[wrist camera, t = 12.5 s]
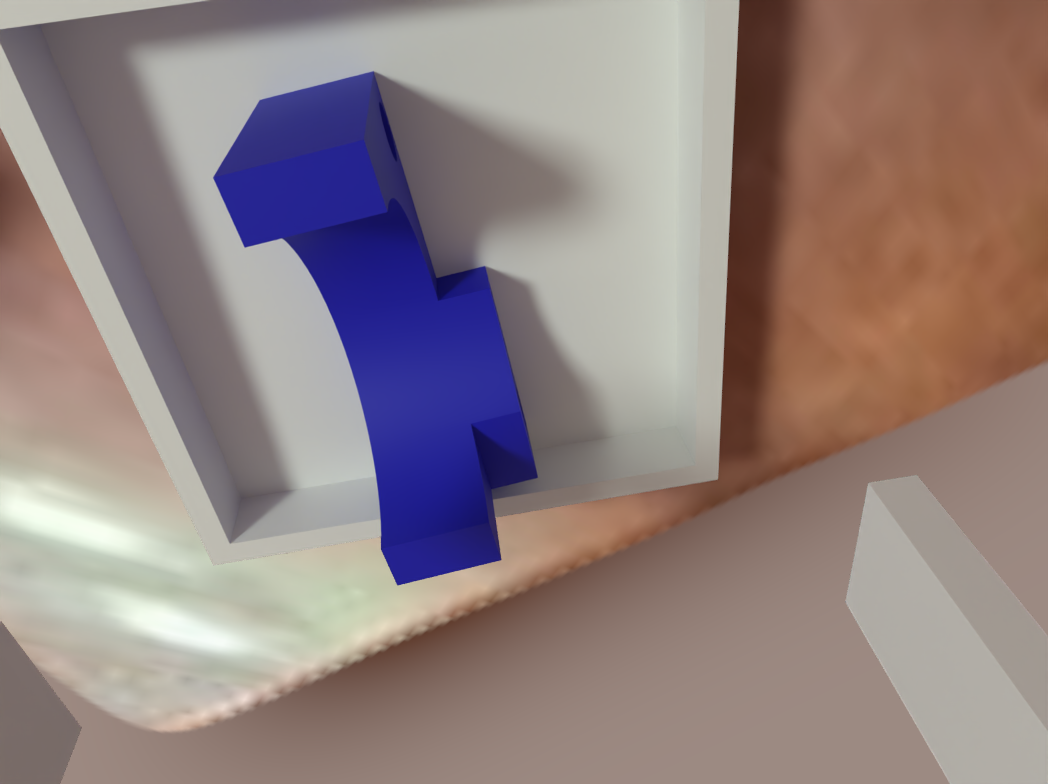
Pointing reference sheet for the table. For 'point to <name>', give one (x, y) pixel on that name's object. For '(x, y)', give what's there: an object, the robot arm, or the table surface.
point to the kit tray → (445, 217)
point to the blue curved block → (389, 318)
